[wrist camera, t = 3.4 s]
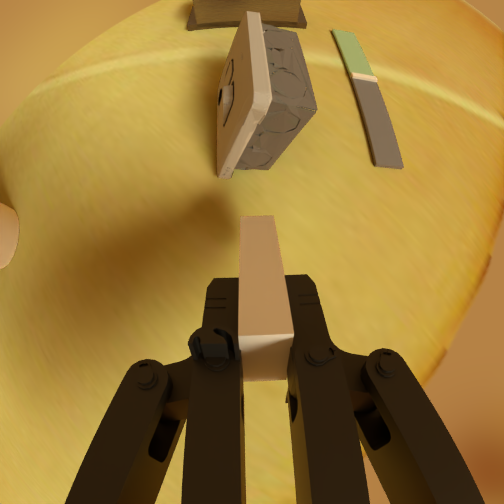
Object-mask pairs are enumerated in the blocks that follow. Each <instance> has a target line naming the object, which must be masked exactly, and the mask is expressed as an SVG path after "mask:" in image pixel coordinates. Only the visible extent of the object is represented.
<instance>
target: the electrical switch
mask: <svg viewBox="0 0 504 504" xmlns="http://www.w3.org/2000/svg"><path fill="white" fill-rule="evenodd" d="M273 72H275V73H273ZM306 88H307V89H306ZM305 90H306V91H305ZM302 107H303V108H302ZM305 108H307V109H305ZM309 109H311V110H309ZM312 110H315V111H312ZM316 111H317V105H316V101H315V97H314V93H313V89H312V85H311V81H310V77H309V73H308V70H307V66H306V63H305V59H304V56H303V52H302V49H301V46H300V42H299V39H298V36H297V33H296V32H292V31H288V30H283V29H279V28H277V27H274V26H272V25H267V24H263V23H261V18H260V13H257V12H250V11H246V12H245V13H244V15H243V18H242V20H241V22H240V25H239V27H238V30H237V32H236V35H235V37H234V40H233V43H232V46H231V49H230V51H229V54H228V57H227V60H226V63H225V66H224V69H223V72H222V75H221V79H220V83H219V87H218V101H217V176H218V178H223V179H230V178H231V177H232V174H233V170H234V169H242V170H248V169H260V170H269V169H270V168H271V166H272V165H273V164H274V163H275V161H276V160H277V159H278V158H279V156H280V155H281V154H282V153H283V151H284V150H285V149H286V148H287V147H288V145H289V144H290V143H291V142H292V140H293V139H294V138H295V137H296V136H297V134H298V133H299V132H300V131H301V130H302V128H303V127H304V126H305V125H306V124H307V122H308V121H309V120H310V119H311V118H312V116H313V115H314V114H315V113H316Z"/></svg>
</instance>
